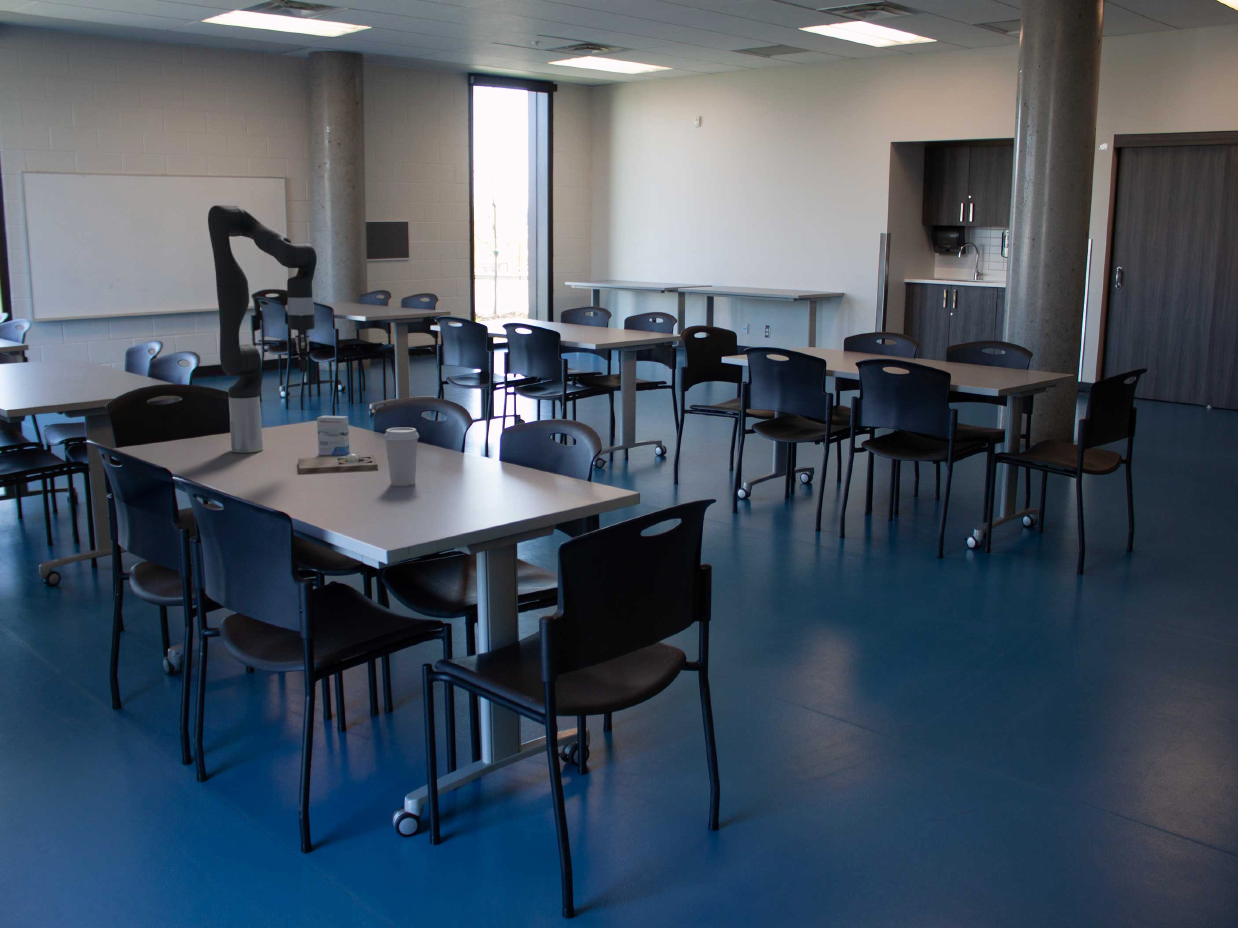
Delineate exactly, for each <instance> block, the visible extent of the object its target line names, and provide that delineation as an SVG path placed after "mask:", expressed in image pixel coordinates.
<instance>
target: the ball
mask: <svg viewBox="0 0 1238 928" xmlns="http://www.w3.org/2000/svg"><path fill="white" fill-rule="evenodd" d="M347 456H348V457H347V462H352V463H354V462H358V461H359V458H358V456H359V455H357V454H355V453H350V454H349V455H348V454H347Z"/></svg>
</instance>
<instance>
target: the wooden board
mask: <svg viewBox="0 0 1238 928" xmlns="http://www.w3.org/2000/svg"><path fill="white" fill-rule="evenodd" d="M357 456H358V458H359V461H358V462H354V463H352V462H347V457H348V455H340V456H322V457H321V456H320V457H307V458H306V457H303V458H301V457H299V458H297V464H298V473H299V474H317V473H318V474H319V473H337V472H338V473H339V471H340V472H354V471H356V470H359V471H374V470H375V471H376V470H378V469H379V468H378V467H379V464H378V462H377V460H376V458H375V455H374V454H367V455H365V454H363V455H357Z"/></svg>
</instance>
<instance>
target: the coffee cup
mask: <svg viewBox="0 0 1238 928" xmlns="http://www.w3.org/2000/svg"><path fill="white" fill-rule="evenodd" d="M419 438H420V435H419V432H417V429H416V428H415V427H407V426H406V427H402V426H401V427H390V428H386V430H385V433H384V435H383V440H385V447H386V448H385V449H386V454H387V462H388V472H389V478H390V484H391V486H393V485H394V486H395V487H409V485H410V486H413V485H416V473H417V454H418V453H417V452H418V440H419ZM394 486H393V487H394Z"/></svg>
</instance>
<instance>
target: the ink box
mask: <svg viewBox="0 0 1238 928" xmlns="http://www.w3.org/2000/svg"><path fill="white" fill-rule="evenodd" d="M316 423H317V425H316V427H317V428H316V429H317V444H318V445H317V446H318V447H317V448H318V455H319V456H347V455H348V454H349V453H350V433H349V432H350V431H349V415H348V416H347V415H345V416H344V415H322V416H318V417H317V418H316Z"/></svg>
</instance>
